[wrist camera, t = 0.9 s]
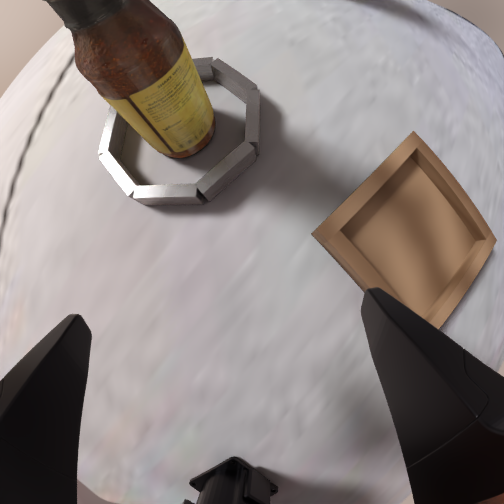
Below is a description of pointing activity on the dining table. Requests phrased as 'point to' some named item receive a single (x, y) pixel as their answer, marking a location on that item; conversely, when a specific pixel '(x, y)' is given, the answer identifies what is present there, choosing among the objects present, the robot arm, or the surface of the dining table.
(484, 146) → the dining table surface
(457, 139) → the dining table surface
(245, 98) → the metal collar
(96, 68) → the sauce bottle
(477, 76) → the dining table surface
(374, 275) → the walnut tray
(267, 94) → the dining table surface
